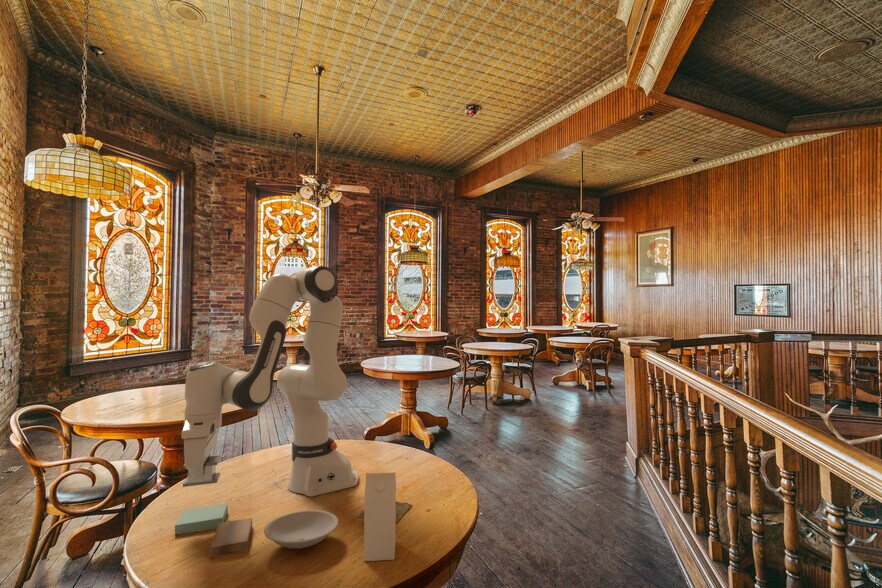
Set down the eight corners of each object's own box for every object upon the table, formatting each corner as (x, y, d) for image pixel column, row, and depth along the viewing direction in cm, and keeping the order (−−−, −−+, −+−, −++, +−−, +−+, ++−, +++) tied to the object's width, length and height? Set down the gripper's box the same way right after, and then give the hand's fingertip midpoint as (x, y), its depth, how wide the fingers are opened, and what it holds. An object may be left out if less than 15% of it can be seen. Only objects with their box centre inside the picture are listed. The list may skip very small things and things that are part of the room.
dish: (254, 565, 93) (254, 544, 93) (274, 530, 107) (274, 511, 107) (332, 561, 94) (332, 540, 95) (342, 527, 109) (342, 508, 109)
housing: (187, 479, 111) (188, 458, 112) (220, 475, 114) (220, 455, 114) (182, 487, 107) (183, 465, 107) (216, 482, 109) (217, 461, 109)
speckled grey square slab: (356, 519, 113) (356, 515, 113) (377, 499, 125) (378, 496, 125) (394, 528, 109) (395, 524, 109) (413, 506, 121) (413, 503, 121)
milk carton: (366, 543, 102) (367, 467, 102) (395, 542, 102) (395, 466, 102) (363, 562, 95) (364, 480, 95) (394, 560, 95) (395, 479, 95)
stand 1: (227, 512, 116) (227, 503, 116) (222, 527, 109) (222, 517, 109) (183, 519, 112) (183, 509, 112) (174, 534, 105) (174, 525, 105)
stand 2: (252, 527, 109) (252, 517, 109) (247, 551, 98) (247, 541, 98) (218, 532, 106) (218, 523, 106) (209, 558, 96) (209, 547, 96)
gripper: (199, 412, 120) (198, 460, 119) (179, 434, 100) (178, 491, 100) (223, 411, 122) (222, 457, 121) (208, 432, 102) (207, 487, 102)
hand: (202, 472), depth 110 cm, fingers closed on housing, 5 cm apart
